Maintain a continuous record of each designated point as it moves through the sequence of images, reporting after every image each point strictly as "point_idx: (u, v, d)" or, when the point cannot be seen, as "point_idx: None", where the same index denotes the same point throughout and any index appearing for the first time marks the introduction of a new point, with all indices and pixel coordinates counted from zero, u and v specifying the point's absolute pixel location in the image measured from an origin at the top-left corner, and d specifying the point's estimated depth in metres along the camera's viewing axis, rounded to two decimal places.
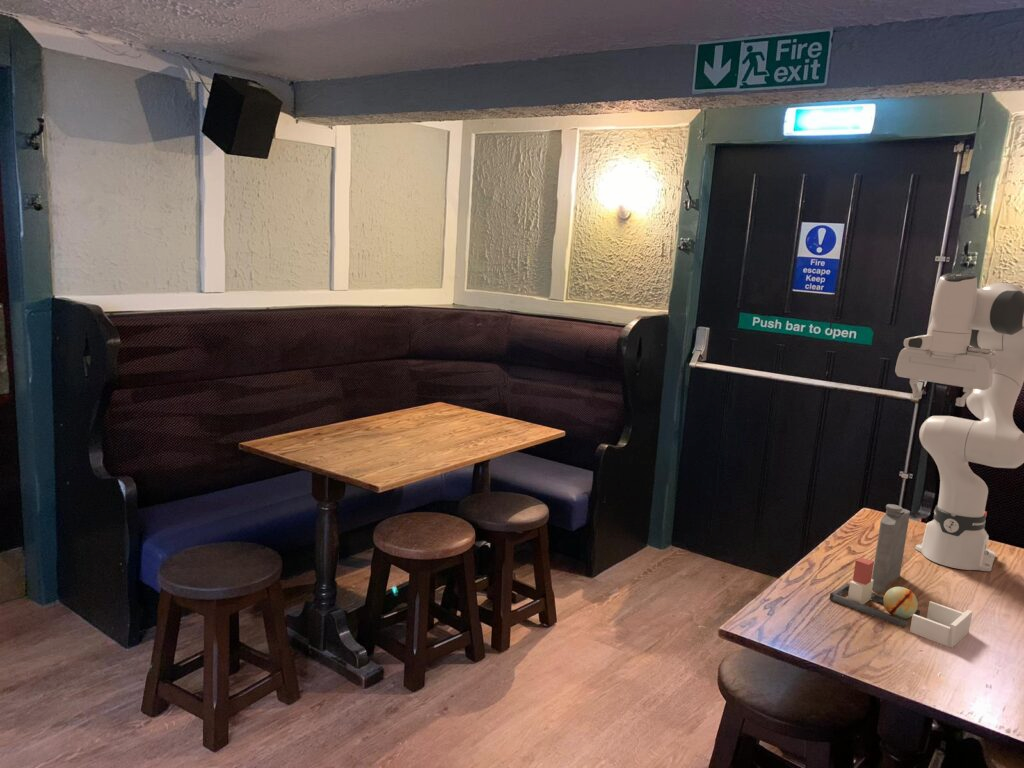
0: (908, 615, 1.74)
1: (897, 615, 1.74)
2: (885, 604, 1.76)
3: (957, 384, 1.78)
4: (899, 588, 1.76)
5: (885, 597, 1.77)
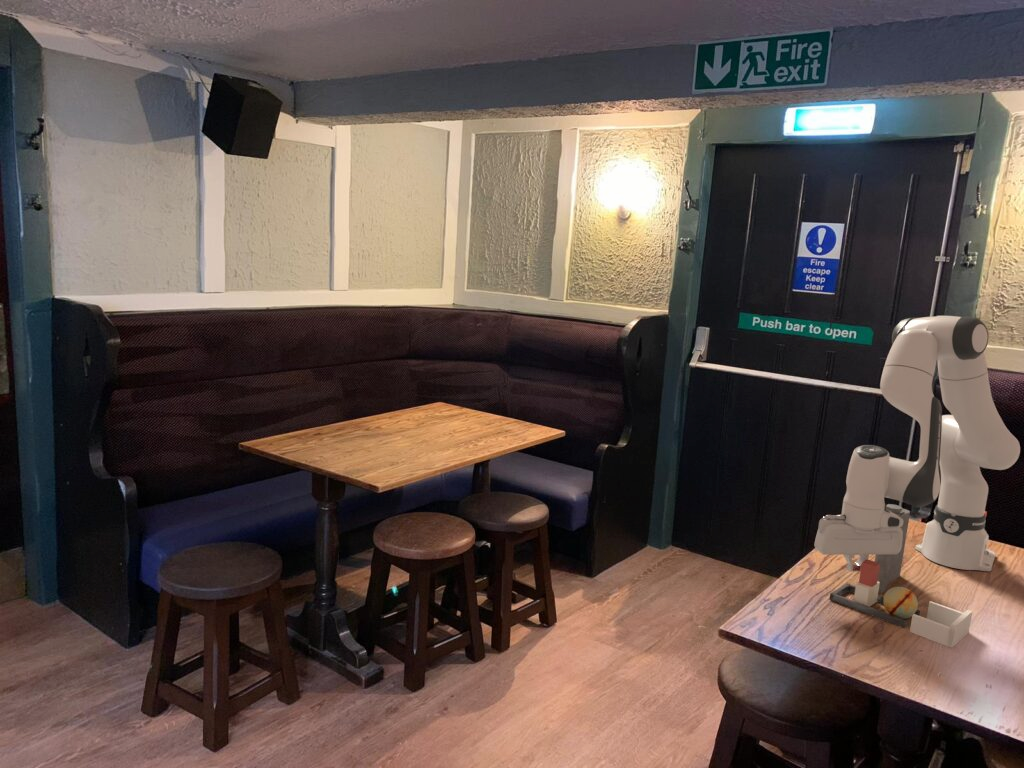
0: (908, 615, 1.74)
1: (897, 615, 1.74)
2: (885, 604, 1.76)
3: None
4: (899, 588, 1.76)
5: (885, 597, 1.77)
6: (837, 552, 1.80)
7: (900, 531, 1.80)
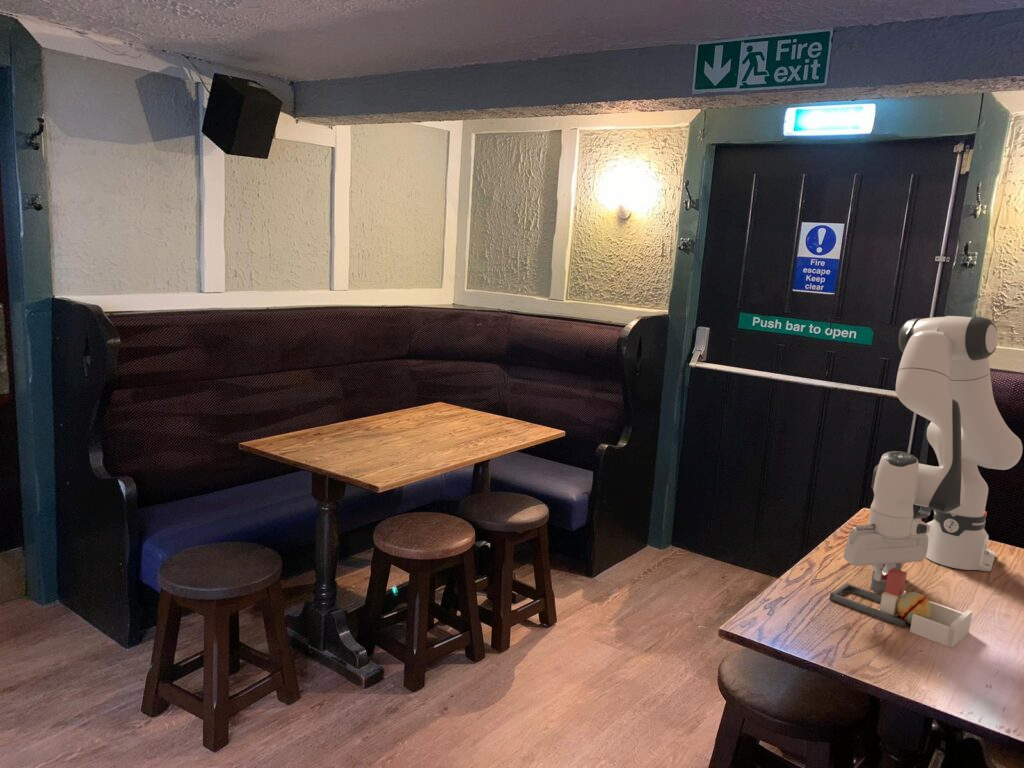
0: None
1: (909, 620, 1.72)
2: (898, 609, 1.74)
3: None
4: (913, 593, 1.73)
5: (898, 602, 1.75)
6: (868, 563, 1.75)
7: (926, 538, 1.77)
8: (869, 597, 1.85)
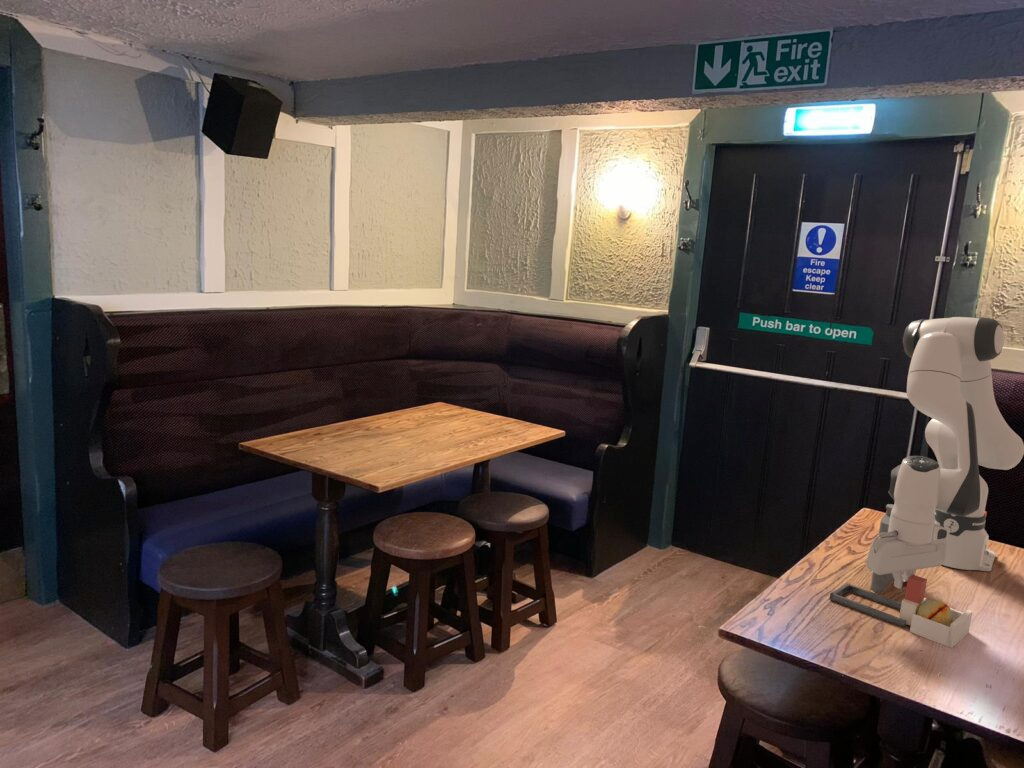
0: None
1: None
2: None
3: None
4: (933, 600, 1.70)
5: (918, 609, 1.72)
6: (891, 571, 1.71)
7: (945, 543, 1.75)
8: (869, 597, 1.85)
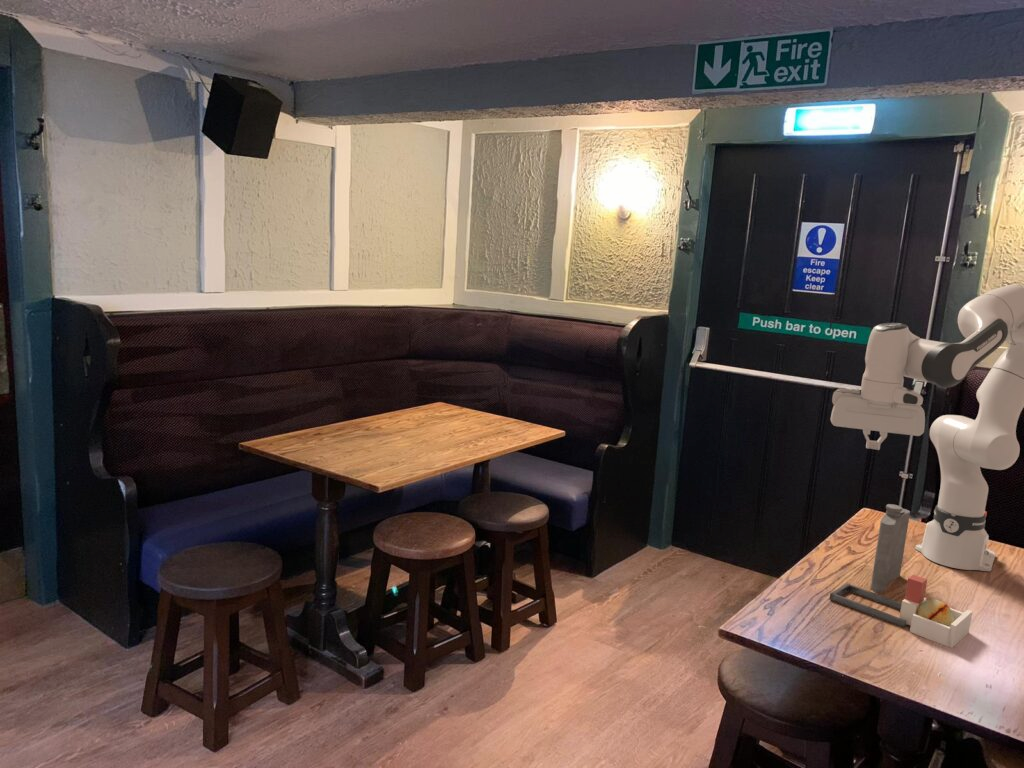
0: None
1: None
2: None
3: None
4: (934, 601, 1.70)
5: (918, 609, 1.72)
6: (849, 425, 1.85)
7: (920, 411, 1.79)
8: (869, 597, 1.85)
